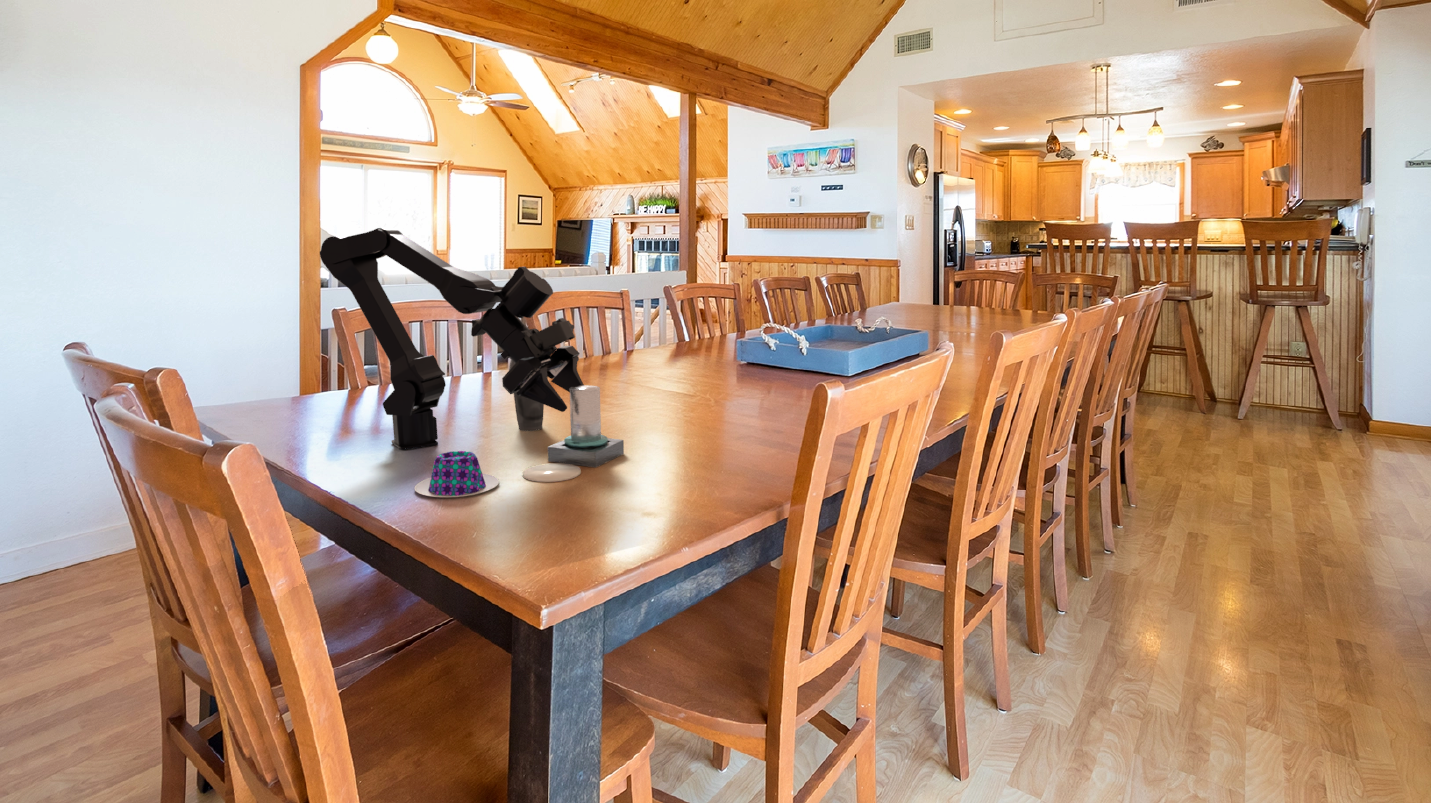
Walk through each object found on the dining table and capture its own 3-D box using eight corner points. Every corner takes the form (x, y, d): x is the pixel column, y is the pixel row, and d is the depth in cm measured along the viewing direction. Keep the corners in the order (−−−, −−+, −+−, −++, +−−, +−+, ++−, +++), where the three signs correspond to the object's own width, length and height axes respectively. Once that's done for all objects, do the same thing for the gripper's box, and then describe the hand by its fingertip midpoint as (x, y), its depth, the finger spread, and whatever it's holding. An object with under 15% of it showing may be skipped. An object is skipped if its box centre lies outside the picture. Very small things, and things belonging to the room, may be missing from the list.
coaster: (536, 485, 118) (536, 482, 118) (513, 471, 125) (513, 469, 125) (590, 475, 123) (590, 473, 123) (565, 462, 130) (565, 460, 130)
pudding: (510, 478, 123) (509, 445, 122) (482, 503, 111) (480, 467, 110) (435, 476, 123) (433, 443, 122) (399, 500, 112) (397, 465, 111)
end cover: (576, 465, 129) (574, 393, 126) (557, 456, 134) (555, 387, 132) (615, 459, 133) (614, 389, 130) (595, 449, 138) (593, 382, 136)
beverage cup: (544, 433, 150) (540, 328, 146) (506, 432, 150) (501, 328, 146) (553, 424, 157) (549, 324, 153) (516, 423, 158) (512, 324, 154)
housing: (595, 467, 128) (595, 452, 127) (548, 461, 131) (547, 446, 131) (623, 453, 136) (623, 439, 135) (578, 448, 139) (577, 434, 139)
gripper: (516, 308, 121) (585, 381, 121) (566, 299, 139) (627, 363, 138) (473, 357, 124) (540, 428, 124) (528, 343, 142) (587, 405, 142)
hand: (576, 404), depth 132 cm, fingers open, 9 cm apart
